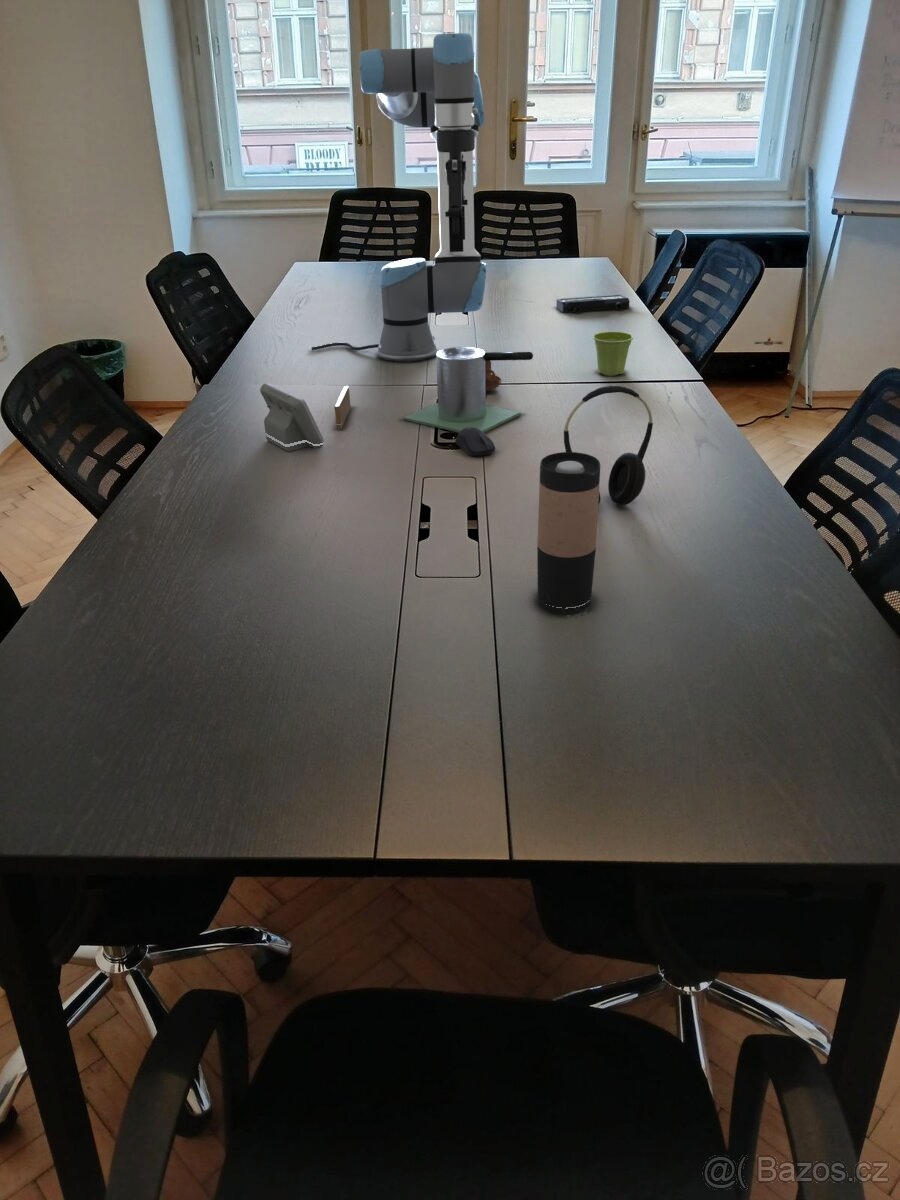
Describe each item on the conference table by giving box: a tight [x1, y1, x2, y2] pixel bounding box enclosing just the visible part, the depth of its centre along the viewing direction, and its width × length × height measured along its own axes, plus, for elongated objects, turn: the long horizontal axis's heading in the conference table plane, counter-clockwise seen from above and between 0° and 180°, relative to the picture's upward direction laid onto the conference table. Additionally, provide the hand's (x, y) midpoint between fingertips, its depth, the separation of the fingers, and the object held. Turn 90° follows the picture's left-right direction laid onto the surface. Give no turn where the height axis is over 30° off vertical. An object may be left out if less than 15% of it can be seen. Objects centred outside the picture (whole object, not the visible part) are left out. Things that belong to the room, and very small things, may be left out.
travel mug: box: [536, 451, 601, 615], centre depth 114 cm, size 8×8×20 cm
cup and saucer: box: [485, 361, 502, 393], centre depth 203 cm, size 12×12×6 cm
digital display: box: [555, 294, 631, 314], centre depth 272 cm, size 21×3×10 cm
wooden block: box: [334, 385, 351, 430], centre depth 187 cm, size 1×14×5 cm, turn 178°
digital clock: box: [259, 383, 325, 452], centre depth 174 cm, size 16×9×11 cm, turn 26°
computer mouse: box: [455, 427, 496, 457], centre depth 169 cm, size 6×9×4 cm, turn 27°
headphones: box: [563, 385, 654, 506], centre depth 141 cm, size 9×15×20 cm, turn 101°
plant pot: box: [592, 331, 634, 377], centre depth 210 cm, size 9×9×9 cm
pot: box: [435, 346, 534, 422], centre depth 182 cm, size 16×10×23 cm
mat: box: [403, 402, 521, 434], centre depth 187 cm, size 19×16×1 cm
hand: (457, 245), depth 181 cm, fingers open, 13 cm apart
